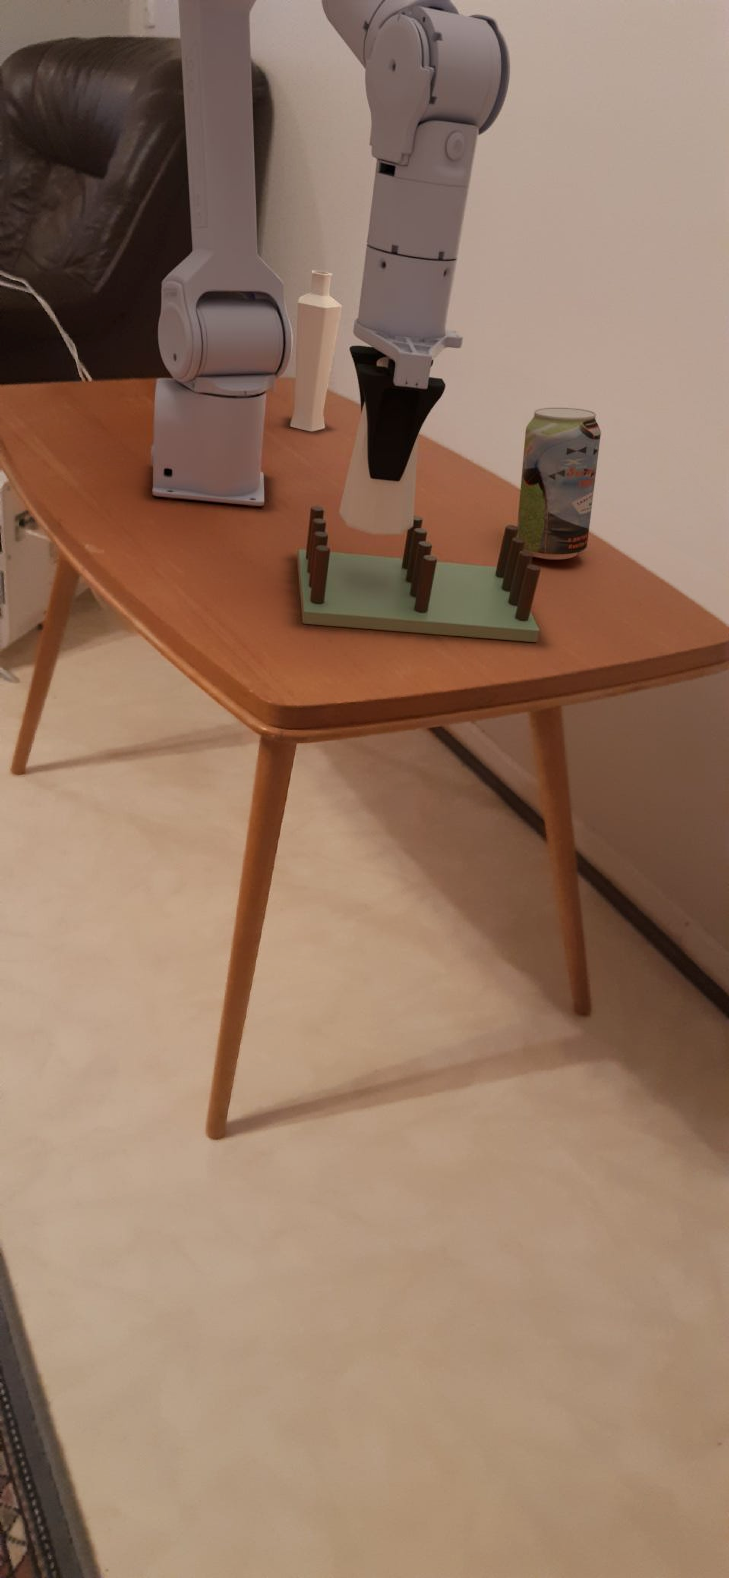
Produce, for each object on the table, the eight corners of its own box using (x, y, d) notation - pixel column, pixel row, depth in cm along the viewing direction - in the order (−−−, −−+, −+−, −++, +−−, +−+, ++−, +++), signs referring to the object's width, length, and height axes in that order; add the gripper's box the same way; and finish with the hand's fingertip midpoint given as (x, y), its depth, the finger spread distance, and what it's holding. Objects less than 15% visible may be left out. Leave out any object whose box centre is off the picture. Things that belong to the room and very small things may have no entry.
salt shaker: (323, 512, 74) (341, 351, 67) (381, 504, 77) (403, 349, 70) (369, 541, 70) (393, 374, 64) (428, 530, 73) (456, 370, 67)
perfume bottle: (327, 434, 108) (344, 280, 100) (286, 429, 108) (299, 273, 100) (329, 422, 112) (346, 272, 104) (289, 417, 112) (302, 265, 103)
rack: (302, 624, 71) (309, 556, 69) (296, 560, 80) (303, 498, 78) (537, 642, 74) (553, 578, 71) (506, 579, 83) (519, 519, 80)
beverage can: (566, 575, 85) (604, 430, 78) (488, 548, 88) (518, 405, 81) (593, 556, 90) (632, 416, 83) (518, 530, 92) (549, 393, 86)
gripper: (497, 281, 58) (454, 511, 66) (456, 242, 70) (423, 442, 78) (375, 264, 57) (345, 500, 65) (354, 228, 69) (331, 432, 77)
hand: (381, 468), depth 71 cm, fingers closed on salt shaker, 4 cm apart
